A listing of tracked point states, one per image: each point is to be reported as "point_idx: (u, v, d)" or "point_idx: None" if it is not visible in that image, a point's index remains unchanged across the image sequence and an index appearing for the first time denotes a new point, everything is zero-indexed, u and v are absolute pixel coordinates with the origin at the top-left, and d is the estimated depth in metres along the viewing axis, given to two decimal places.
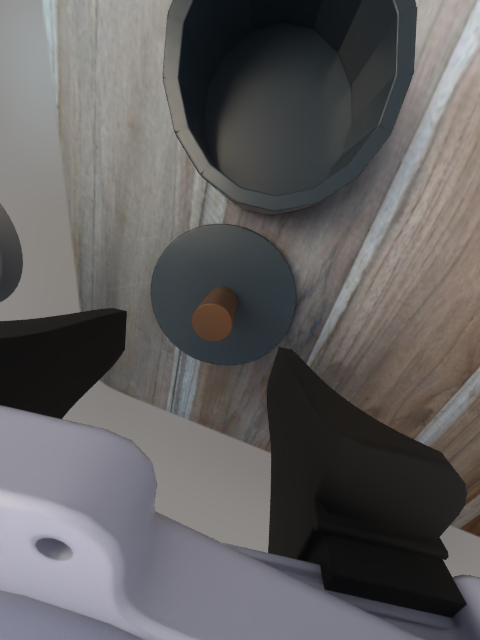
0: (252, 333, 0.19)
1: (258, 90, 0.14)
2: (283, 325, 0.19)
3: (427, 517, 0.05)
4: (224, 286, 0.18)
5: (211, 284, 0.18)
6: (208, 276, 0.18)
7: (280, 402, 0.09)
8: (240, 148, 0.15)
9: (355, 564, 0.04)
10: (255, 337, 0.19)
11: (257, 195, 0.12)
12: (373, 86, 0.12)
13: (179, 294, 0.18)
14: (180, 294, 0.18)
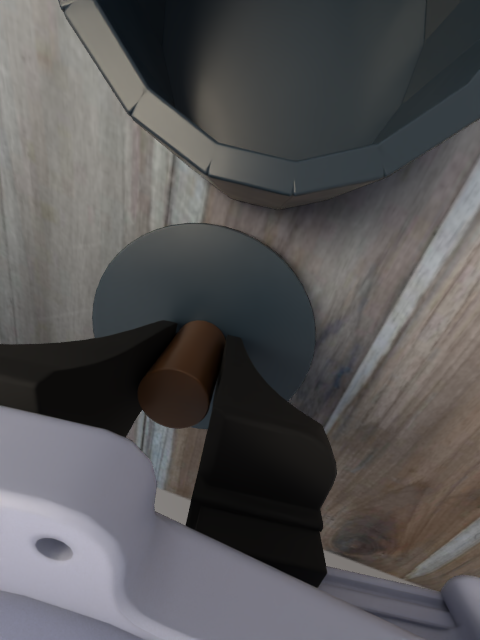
0: None
1: None
2: (295, 377, 0.12)
3: (302, 489, 0.05)
4: (204, 319, 0.11)
5: (184, 317, 0.12)
6: (179, 305, 0.11)
7: (217, 388, 0.09)
8: (226, 94, 0.09)
9: (221, 534, 0.04)
10: None
11: (254, 160, 0.05)
12: None
13: None
14: None
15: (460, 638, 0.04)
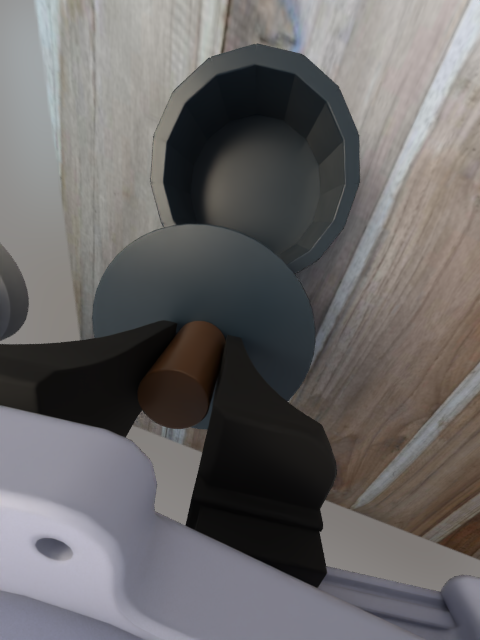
0: None
1: (237, 168, 0.16)
2: (295, 377, 0.12)
3: (302, 489, 0.05)
4: (204, 320, 0.11)
5: (184, 317, 0.12)
6: (179, 305, 0.11)
7: (217, 388, 0.09)
8: (223, 215, 0.17)
9: (220, 534, 0.04)
10: None
11: None
12: (332, 180, 0.13)
13: None
14: None
15: (460, 638, 0.04)
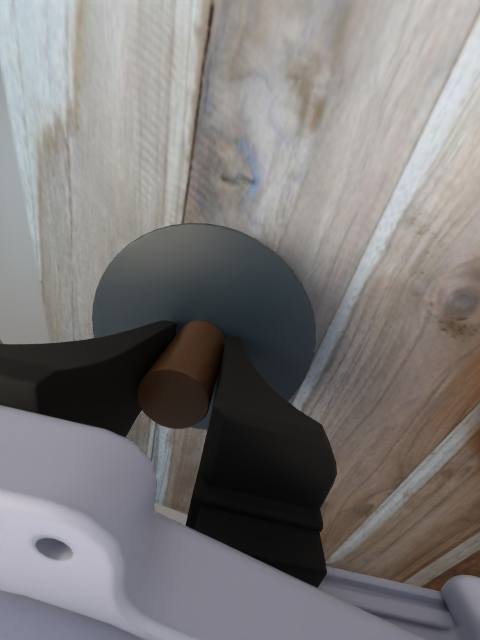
0: None
1: None
2: (295, 377, 0.12)
3: (302, 488, 0.05)
4: (204, 320, 0.11)
5: (184, 317, 0.12)
6: (179, 305, 0.11)
7: (217, 388, 0.09)
8: None
9: (221, 534, 0.04)
10: None
11: None
12: None
13: None
14: None
15: (460, 638, 0.04)
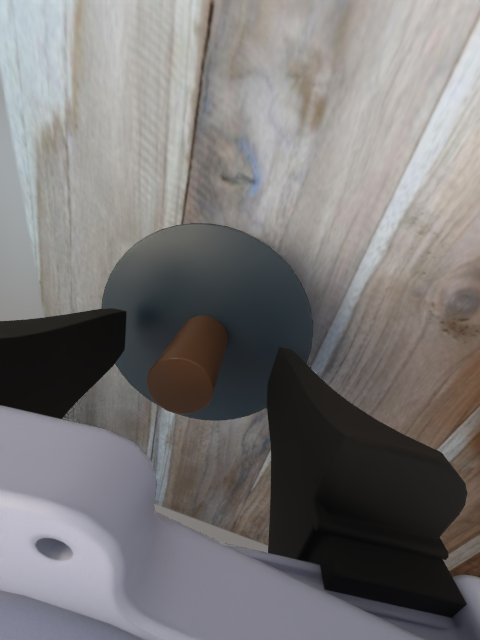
0: (249, 380, 0.13)
1: None
2: None
3: (427, 517, 0.05)
4: (207, 314, 0.12)
5: (188, 312, 0.12)
6: (183, 300, 0.12)
7: (280, 402, 0.09)
8: None
9: (355, 564, 0.04)
10: (253, 385, 0.13)
11: None
12: None
13: (143, 325, 0.13)
14: (144, 325, 0.13)
15: (460, 638, 0.04)
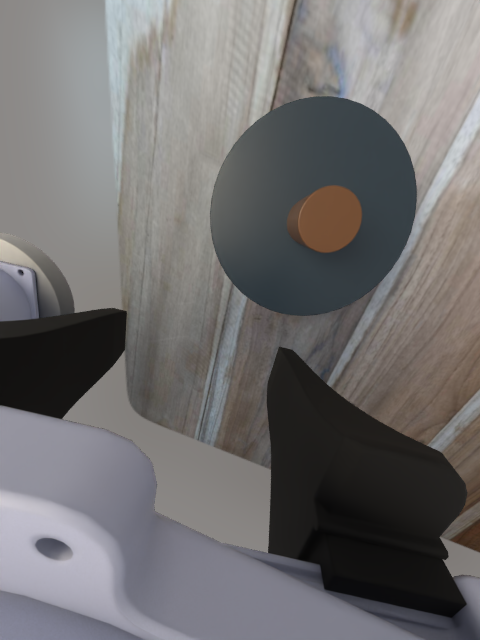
0: (345, 268, 0.14)
1: None
2: (391, 255, 0.14)
3: (427, 517, 0.05)
4: None
5: (297, 194, 0.13)
6: (294, 182, 0.13)
7: (280, 402, 0.09)
8: None
9: (355, 564, 0.04)
10: (349, 274, 0.14)
11: None
12: None
13: (250, 210, 0.13)
14: (252, 211, 0.13)
15: (460, 638, 0.04)
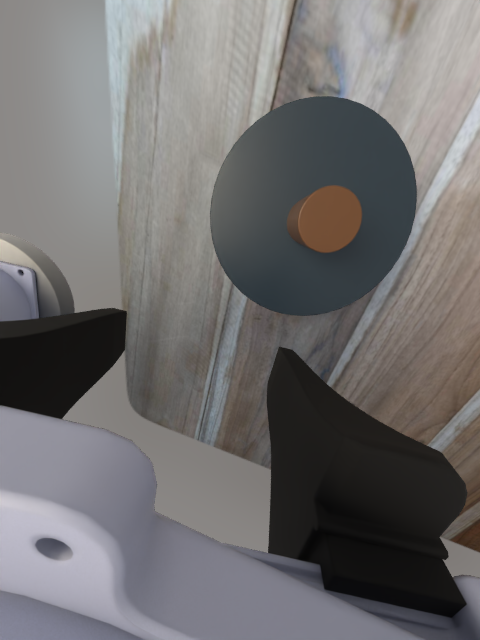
0: (345, 268, 0.14)
1: None
2: (391, 255, 0.14)
3: (427, 517, 0.05)
4: None
5: (297, 194, 0.13)
6: (294, 182, 0.13)
7: (280, 402, 0.09)
8: None
9: (355, 564, 0.04)
10: (349, 274, 0.14)
11: None
12: None
13: (250, 210, 0.13)
14: (252, 211, 0.13)
15: (460, 638, 0.04)
